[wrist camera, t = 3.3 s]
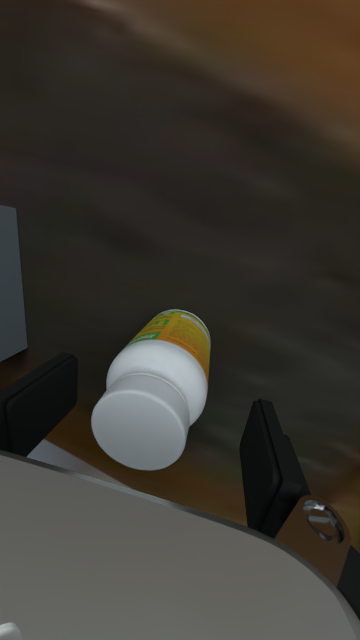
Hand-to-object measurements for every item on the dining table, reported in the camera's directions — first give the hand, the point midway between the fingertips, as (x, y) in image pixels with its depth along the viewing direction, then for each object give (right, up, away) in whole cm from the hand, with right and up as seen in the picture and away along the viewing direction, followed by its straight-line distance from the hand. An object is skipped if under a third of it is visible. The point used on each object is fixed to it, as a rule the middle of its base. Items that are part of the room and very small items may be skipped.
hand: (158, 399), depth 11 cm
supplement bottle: (+1, +3, +7) cm, 7 cm away
